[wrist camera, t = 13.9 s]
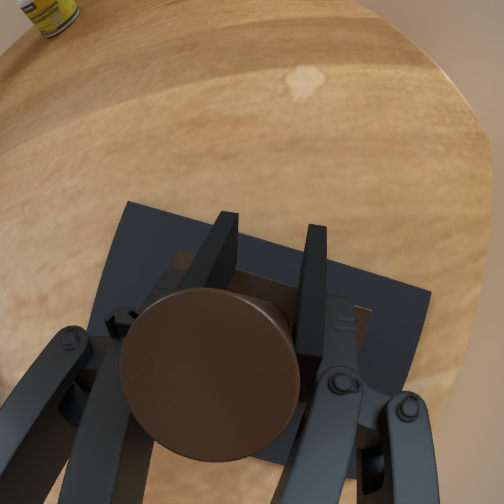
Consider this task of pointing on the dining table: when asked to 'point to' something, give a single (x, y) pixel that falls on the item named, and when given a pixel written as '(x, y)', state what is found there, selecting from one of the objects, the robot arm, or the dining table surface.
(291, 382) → the scrub brush
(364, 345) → the stain mat
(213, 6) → the dining table surface
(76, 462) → the robot arm
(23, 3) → the pill bottle
